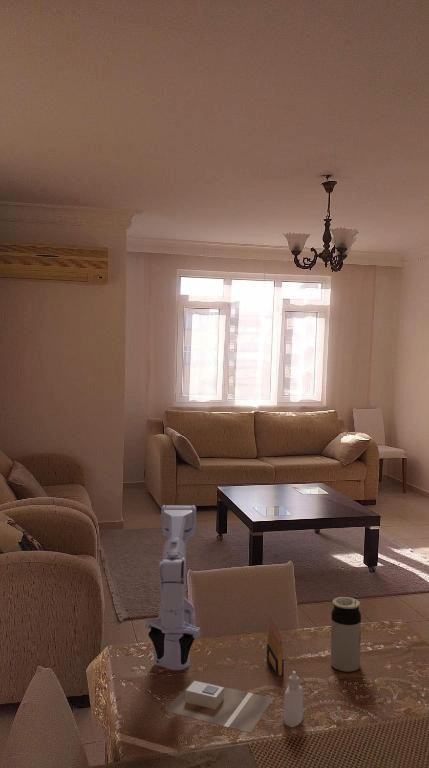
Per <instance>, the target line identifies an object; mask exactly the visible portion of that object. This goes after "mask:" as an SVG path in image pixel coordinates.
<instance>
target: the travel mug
mask: <svg viewBox="0 0 429 768" xmlns="http://www.w3.org/2000/svg"><path fill="white" fill-rule="evenodd" d="M332 604H333V608H332V610H331V612H330V615H331V617H330V618H331V620H330V621H331V622H330V625H331V626H330V627H331V628H330V666H332V667H333V668H334V669H336V670H338V671H340V672H347V673H349V672H355V671H357V670H359V669H360V667H361V639H362V638H361V635H362V631H361V629H362V614H361V612H360V610H359V609H360V606H361V602H360V601H359V600H358V599H356V598H353V597H348V596H339V597H335V598H334V599H333V600H332Z"/></svg>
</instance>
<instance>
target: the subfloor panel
mask: <svg viewBox="0 0 429 768" xmlns="http://www.w3.org/2000/svg"><path fill="white" fill-rule="evenodd" d="M194 681H198V682H202V683H206V684H211V685H215V686H219V687H224V700H223V701H222V702H221V704H220V705H219V706H218V707H217V709H216V710H215V709H211V708H207V707H203V706H199V705H195V704H191V703H187V702H186V689H187V688H188V687H189V686H190V685H191V684H192V683H193V682H194ZM273 700H274V698H273V697H270V696H264V695H261V694H256V693H251V692H248V691H244V690H239V689H234V688H230V687H226V686H223V685H218V684H212V683H209V682H205V681H200V680H196V679H193V680H191V681H190V683H189V684H188V685H187V686H186V687H185V688H184V689H183V690H182V691H181V692H180V694H178V695H177V696H176V698H175V699H173V701H172V702H170V703H169V705H168V706H167V707H166V708H164V712H167V713H170V714H175V715H178V716H183V717H186V718H189V719H195V720H197V721H202V722H206V723H208V724H209V723H210V724H212V725H213V724H214V725H217V726H220V727H225V728H228V729H232V730H237V731H241V732H245V733H249V734H252V732H253V730H254V729H255V727H256V726H257V724H258V723H259V721H260V719H261V718H262V717H263V716H264V713H265V712H266V710H268V708H269V706H270V705H271V703H272V702H273Z"/></svg>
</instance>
